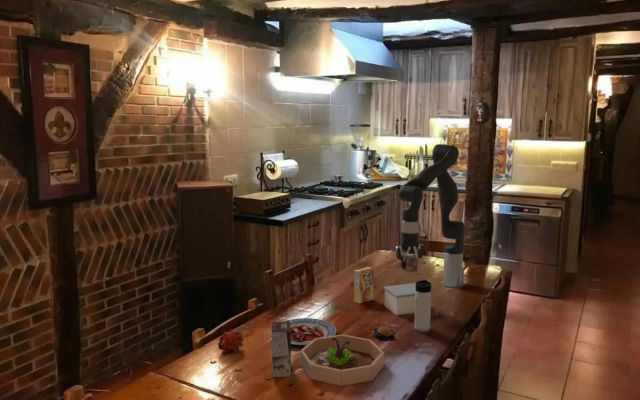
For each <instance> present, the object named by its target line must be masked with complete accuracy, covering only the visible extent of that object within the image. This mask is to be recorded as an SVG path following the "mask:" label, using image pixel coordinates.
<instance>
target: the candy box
mask: <svg viewBox="0 0 640 400" xmlns="http://www.w3.org/2000/svg"><path fill="white" fill-rule="evenodd" d="M353 272H354V276H353V277H354V283H353V285H354V286H353V287H354V288H353V289H354V290H353V293H354V294H353V301H354V302H355V303H357V304H363V303H366V302H369V301H372V300H374V268H372V267H370V266H367V267H362V268H359V269H354V271H353Z"/></svg>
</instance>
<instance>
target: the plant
mask: <svg viewBox="0 0 640 400" xmlns="http://www.w3.org/2000/svg"><path fill="white" fill-rule="evenodd" d="M334 340H335V341H336V343H337V348H336V349H333V348H329V350H328V351H322V352H319V353H318V354H316V355H313V356H312V357H311V359H310V361H311V362H312V364H317V365H321V366H326V367H330V368H335V369H339V370H344V369H350V368H356V367H361V366H367V365H370V361H369V358H367V357H363V356H362V355H361V354H359V353H357V352H356V353H355V352H352V350H350V349H349V348H347V347H344V346H345V344H346V343H347V345H348V346H349V345H350V344H351V343H350V342H349V341H346V342H344V344H343V345H342V348H341V349H340V345H339V342H338V340H337V339H336V338H335V337H331V338H330V341H332V342H333V341H334Z"/></svg>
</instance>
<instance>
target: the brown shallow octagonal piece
mask: <svg viewBox="0 0 640 400" xmlns="http://www.w3.org/2000/svg"><path fill="white" fill-rule="evenodd" d="M331 337H335V338H336V339H337V340H338V342H339V345H340V349H341V348H342V345H343V344H344V342H346V341H349V342H350V343H351V344H350V345H349V346H348V345H347V343H346V344H345V346H344V347H347V348H349V349H350V351H355V352H359V353H365V354H368V355H370V356H371V357H372V359H374V360H373V361H371V363H370V364H369V365H367V366H361V367H356V368H350V369H344V370H339V369H335V368H330V367H326V366H321V365H317V364H312V362H311V359H312V358H313V357H314V356H315V354H317V353H322V352H325V351H329V348H333V349H334V350H336V348H337V343H336V341H335V340H334V341H333V342H332V341H330V338H331ZM300 366H301V367H302V368H303V370H304V372H305V373H306V374H307V376H308V378H309V379H310V380H314V381H318V382H322V383H327V384H331V385H334V386H335V385H336V386H338V387H339V386H340V387H343V386H348V385H354V384H359V383H360V384H361V383H366V382H371V381H373V380H375V378H376V377H377V375H378V374H379V373H380V371H382V369H383V368H384V366H385V352H384V351H383V350H382V349H381V348H380V347H379V345H377V344H376V343H375V342H374V341H373V340H372V339H369V338H364V337H358V336H352V335H350V334H349V335H347V334H344V333H343V334H335V336H329V337H322V338H315V339H314V340H312V341H311V342H310V343H309V344H308V345H304V347H303V348H302V349H300Z"/></svg>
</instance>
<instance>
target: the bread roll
mask: <svg viewBox="0 0 640 400" xmlns="http://www.w3.org/2000/svg"><path fill="white" fill-rule="evenodd" d="M372 333H373V337H374V338H375V340H376V342H393V341H396V338H395V333H394V330H393V329H391V328H389V327H388V326H379V327H378V328H374V329H373V330H372Z"/></svg>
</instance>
